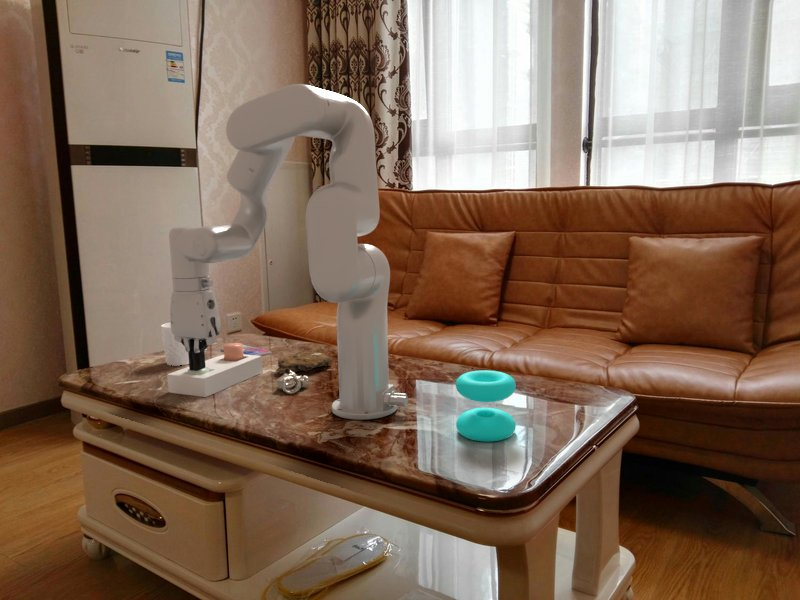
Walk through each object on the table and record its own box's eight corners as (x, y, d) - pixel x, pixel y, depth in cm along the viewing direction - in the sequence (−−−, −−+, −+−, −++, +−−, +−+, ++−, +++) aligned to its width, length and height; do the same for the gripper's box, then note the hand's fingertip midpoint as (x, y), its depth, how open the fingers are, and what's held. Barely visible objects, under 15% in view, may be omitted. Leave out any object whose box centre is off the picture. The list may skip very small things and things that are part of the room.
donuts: (448, 370, 109) (502, 366, 111) (449, 425, 110) (502, 420, 112) (466, 387, 99) (525, 381, 101) (466, 447, 101) (525, 440, 103)
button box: (262, 372, 148) (261, 355, 148) (205, 397, 130) (204, 378, 129) (228, 368, 152) (227, 352, 151) (168, 392, 134) (167, 374, 133)
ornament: (312, 393, 132) (312, 376, 131) (280, 397, 130) (279, 380, 129) (306, 383, 139) (305, 367, 139) (275, 386, 137) (274, 370, 137)
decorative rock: (305, 382, 141) (339, 367, 155) (306, 364, 141) (339, 351, 154) (264, 374, 146) (300, 361, 160) (264, 357, 145) (300, 345, 159)
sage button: (214, 385, 137) (213, 367, 136) (200, 390, 133) (199, 372, 132) (198, 383, 138) (197, 365, 138) (184, 389, 134) (183, 371, 134)
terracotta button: (247, 360, 147) (246, 343, 146) (235, 364, 143) (234, 347, 143) (232, 358, 149) (231, 342, 148) (220, 363, 145) (219, 346, 144)
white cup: (190, 366, 155) (187, 327, 154) (159, 367, 156) (155, 327, 154) (200, 358, 163) (198, 321, 162) (171, 359, 163) (167, 321, 162)
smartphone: (242, 343, 177) (273, 351, 167) (242, 347, 177) (273, 355, 167) (219, 348, 172) (249, 356, 162) (219, 351, 172) (249, 360, 162)
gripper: (231, 284, 133) (236, 367, 135) (176, 281, 138) (183, 362, 141) (207, 288, 126) (213, 377, 129) (151, 286, 132) (158, 370, 135)
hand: (197, 368), depth 135 cm, fingers closed
